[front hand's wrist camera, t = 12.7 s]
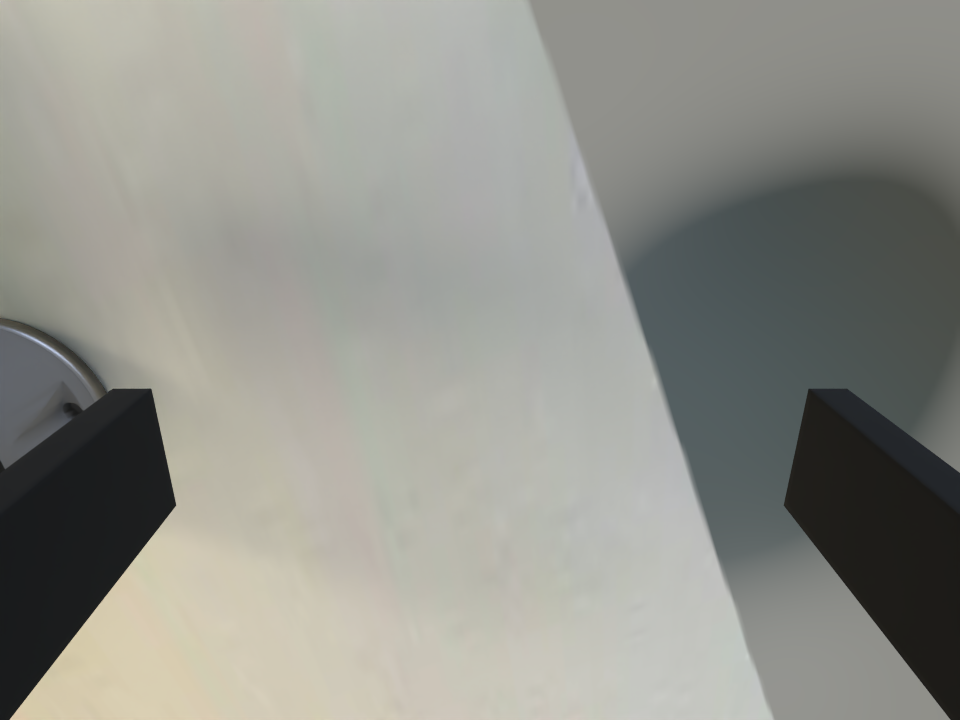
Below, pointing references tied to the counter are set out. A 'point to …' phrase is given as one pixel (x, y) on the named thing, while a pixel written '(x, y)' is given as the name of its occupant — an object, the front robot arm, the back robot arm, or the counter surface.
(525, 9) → the counter surface
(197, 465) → the counter surface
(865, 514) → the front robot arm
